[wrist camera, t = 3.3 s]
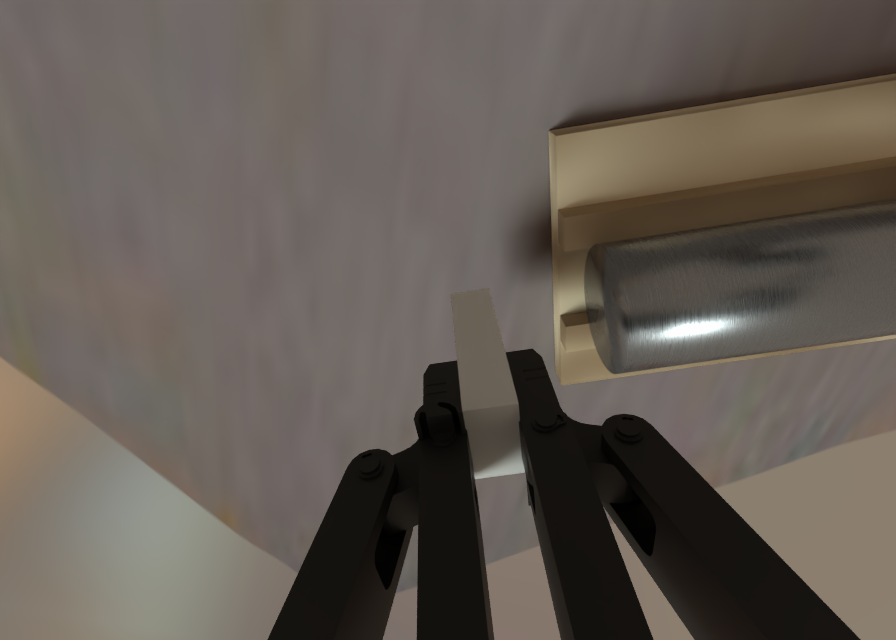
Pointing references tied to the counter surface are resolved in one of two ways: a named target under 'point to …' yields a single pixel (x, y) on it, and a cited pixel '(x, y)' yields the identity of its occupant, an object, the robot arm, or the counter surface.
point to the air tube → (744, 288)
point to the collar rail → (709, 183)
